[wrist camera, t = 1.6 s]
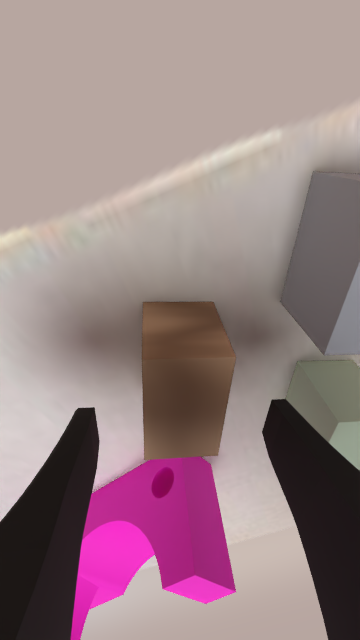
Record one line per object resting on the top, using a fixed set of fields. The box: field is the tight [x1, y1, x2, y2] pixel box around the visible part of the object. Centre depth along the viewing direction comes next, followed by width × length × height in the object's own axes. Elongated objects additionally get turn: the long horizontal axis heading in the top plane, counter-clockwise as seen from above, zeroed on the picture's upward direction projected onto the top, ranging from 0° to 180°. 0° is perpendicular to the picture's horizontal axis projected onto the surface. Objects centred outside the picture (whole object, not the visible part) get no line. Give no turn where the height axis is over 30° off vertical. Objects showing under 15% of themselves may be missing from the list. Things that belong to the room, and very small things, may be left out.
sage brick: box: [285, 360, 360, 470], centre depth 17 cm, size 4×6×4 cm, turn 177°
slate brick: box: [280, 172, 360, 355], centre depth 12 cm, size 4×6×4 cm, turn 177°
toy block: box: [71, 457, 236, 640], centre depth 21 cm, size 15×6×8 cm, turn 128°
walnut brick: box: [142, 302, 236, 460], centre depth 14 cm, size 4×6×4 cm, turn 177°
